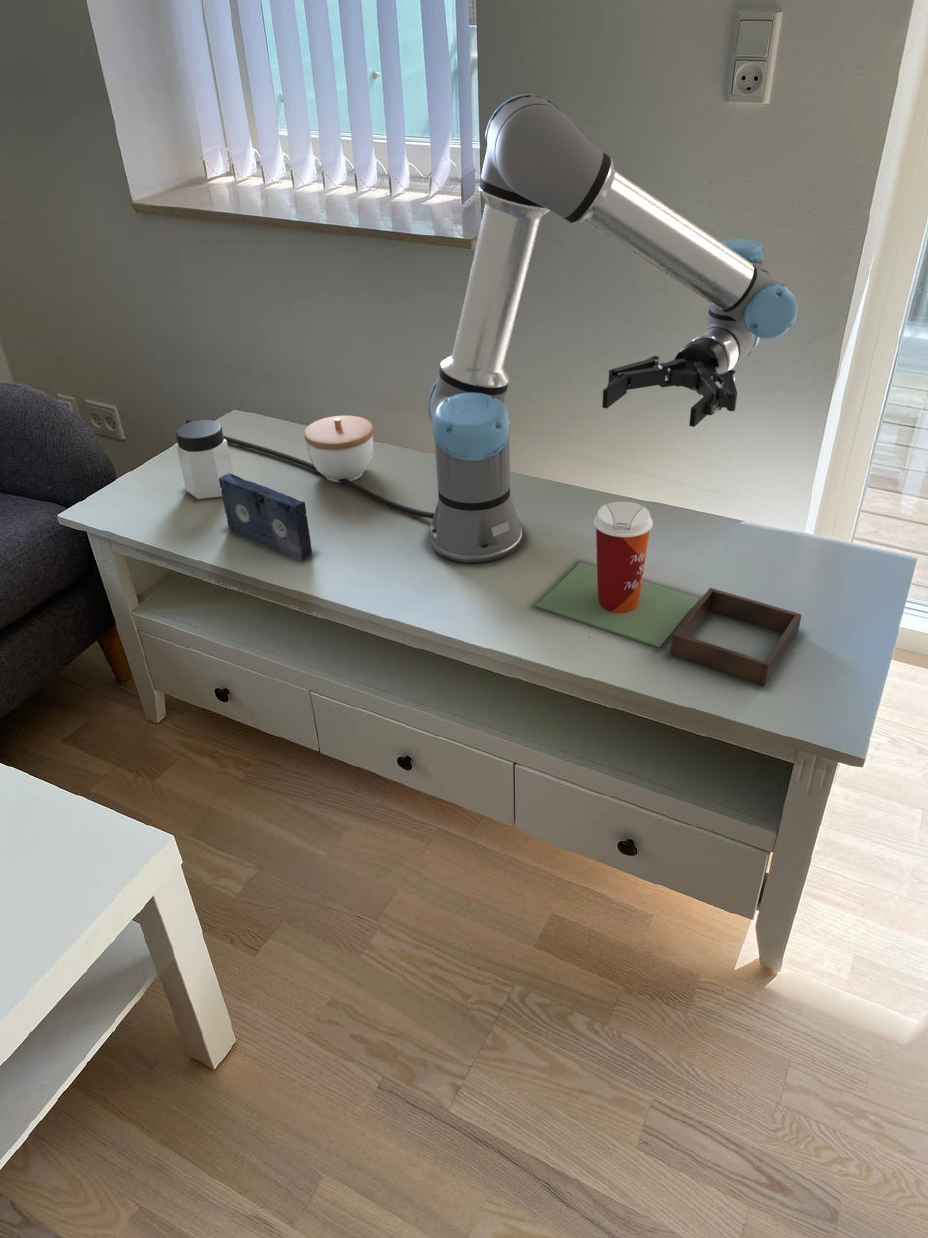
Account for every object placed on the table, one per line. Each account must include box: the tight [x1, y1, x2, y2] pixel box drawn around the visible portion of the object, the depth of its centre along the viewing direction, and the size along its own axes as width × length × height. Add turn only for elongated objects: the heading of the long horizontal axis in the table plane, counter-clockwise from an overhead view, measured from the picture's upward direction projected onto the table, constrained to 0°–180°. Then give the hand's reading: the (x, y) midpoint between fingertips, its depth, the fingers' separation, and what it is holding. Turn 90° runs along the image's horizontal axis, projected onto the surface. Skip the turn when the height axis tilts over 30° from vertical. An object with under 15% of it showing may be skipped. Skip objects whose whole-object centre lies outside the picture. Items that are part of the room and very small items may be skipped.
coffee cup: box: [593, 501, 654, 613], centre depth 141 cm, size 8×8×15 cm
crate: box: [669, 587, 802, 687], centre depth 135 cm, size 13×13×4 cm
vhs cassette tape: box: [219, 473, 313, 561], centre depth 161 cm, size 18×3×10 cm, turn 51°
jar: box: [175, 419, 234, 500], centre depth 178 cm, size 9×8×12 cm
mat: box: [535, 562, 700, 649], centre depth 145 cm, size 20×14×1 cm
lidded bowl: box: [303, 415, 375, 483], centre depth 181 cm, size 13×13×11 cm
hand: (647, 408), depth 139 cm, fingers open, 13 cm apart
